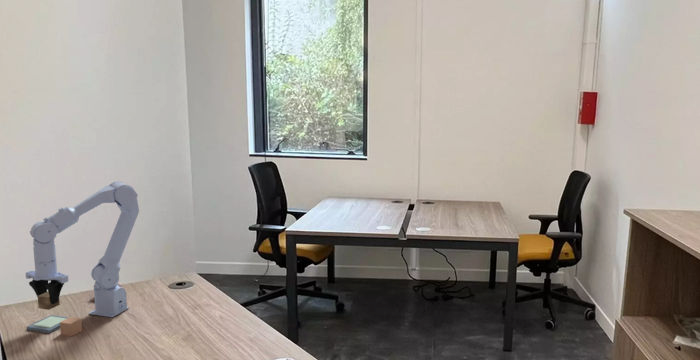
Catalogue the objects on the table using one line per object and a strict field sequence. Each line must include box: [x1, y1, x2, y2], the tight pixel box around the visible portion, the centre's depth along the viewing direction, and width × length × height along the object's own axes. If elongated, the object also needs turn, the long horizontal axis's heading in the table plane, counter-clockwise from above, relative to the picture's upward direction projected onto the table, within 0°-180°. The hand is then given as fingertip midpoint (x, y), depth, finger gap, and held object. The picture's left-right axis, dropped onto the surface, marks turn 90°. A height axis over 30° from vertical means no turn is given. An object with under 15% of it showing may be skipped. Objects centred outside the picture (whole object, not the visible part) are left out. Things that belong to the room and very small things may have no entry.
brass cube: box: [37, 291, 61, 311], centre depth 151 cm, size 4×4×4 cm
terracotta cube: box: [59, 316, 83, 337], centre depth 148 cm, size 4×4×4 cm
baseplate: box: [26, 314, 70, 334], centre depth 152 cm, size 9×9×1 cm
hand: (48, 302), depth 151 cm, fingers closed on brass cube, 4 cm apart
